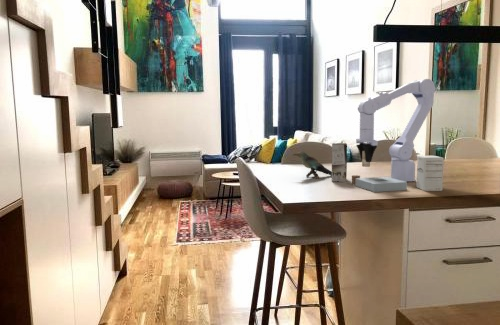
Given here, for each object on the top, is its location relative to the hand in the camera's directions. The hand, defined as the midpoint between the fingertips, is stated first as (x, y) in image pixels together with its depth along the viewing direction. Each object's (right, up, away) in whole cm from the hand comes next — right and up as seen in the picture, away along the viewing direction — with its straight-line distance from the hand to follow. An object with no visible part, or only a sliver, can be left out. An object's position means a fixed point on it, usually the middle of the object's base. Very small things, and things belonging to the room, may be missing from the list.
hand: (366, 161), depth 178 cm
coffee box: (-10, -8, +6) cm, 15 cm away
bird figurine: (-20, -8, +14) cm, 26 cm away
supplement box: (+19, -11, -18) cm, 28 cm away
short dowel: (-6, -9, -5) cm, 12 cm away
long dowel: (0, -2, 0) cm, 2 cm away
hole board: (+2, -10, -14) cm, 17 cm away
